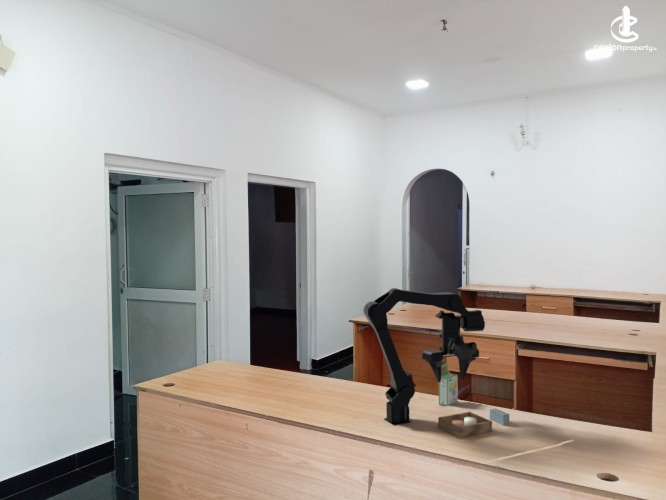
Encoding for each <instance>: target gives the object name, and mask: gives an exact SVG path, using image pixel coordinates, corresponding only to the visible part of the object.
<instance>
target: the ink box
mask: <svg viewBox="0 0 666 500" xmlns="http://www.w3.org/2000/svg"><path fill="white" fill-rule="evenodd" d="M444 368H445V369H444ZM442 369H444V370H442ZM458 389H459V387H458V374H456V373H449V363H445V364H443V365H442V366H441V382H438V405H440V406H442V407H443V406H444V407H449V406H453V405H454V404H456V403H458V402H459V401H457V400H458V397H459V395H458V392H459V391H458Z"/></svg>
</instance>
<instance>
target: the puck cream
mask: <svg viewBox="0 0 666 500" xmlns="http://www.w3.org/2000/svg"><path fill="white" fill-rule="evenodd" d="M472 424H476V418H473V417H465V418H464V426H467V425H472Z"/></svg>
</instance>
